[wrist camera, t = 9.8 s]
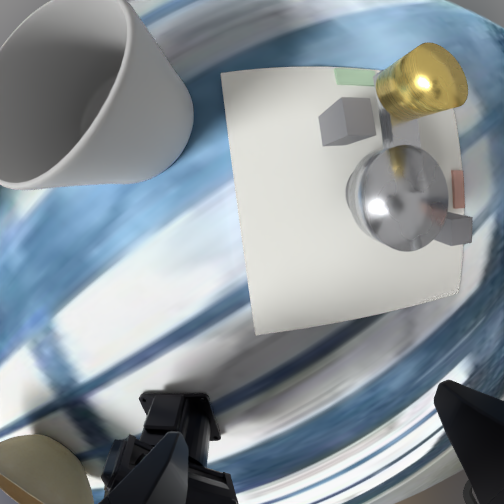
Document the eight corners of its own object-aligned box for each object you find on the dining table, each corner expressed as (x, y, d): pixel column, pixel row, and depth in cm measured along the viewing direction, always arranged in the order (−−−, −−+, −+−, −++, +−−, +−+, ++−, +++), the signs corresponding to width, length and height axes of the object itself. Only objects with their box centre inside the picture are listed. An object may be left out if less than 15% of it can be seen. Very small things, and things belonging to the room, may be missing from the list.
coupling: (426, 238, 16) (492, 265, 10) (349, 246, 16) (404, 283, 9) (414, 87, 13) (476, 59, 7) (334, 77, 13) (380, 29, 7)
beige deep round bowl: (86, 489, 29) (68, 535, 17) (6, 425, 25) (-24, 467, 13) (133, 477, 26) (114, 543, 14) (26, 393, 23) (-20, 452, 11)
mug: (193, 59, 16) (149, -41, 5) (198, 175, 18) (135, 167, 7) (53, 97, 16) (-44, 67, 5) (53, 198, 18) (-56, 221, 7)
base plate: (453, 290, 20) (490, 313, 15) (255, 329, 20) (258, 374, 15) (442, 84, 16) (482, 69, 11) (221, 77, 16) (213, 41, 11)
